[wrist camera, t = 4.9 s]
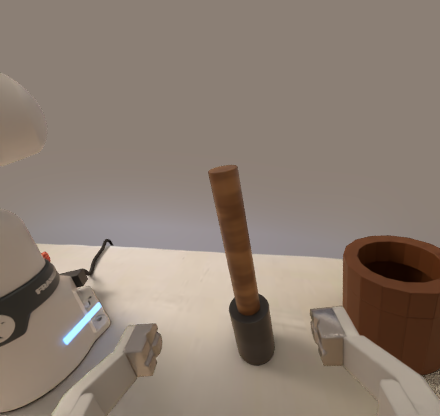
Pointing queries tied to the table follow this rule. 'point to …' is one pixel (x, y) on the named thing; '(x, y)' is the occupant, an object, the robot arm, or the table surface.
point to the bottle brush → (241, 270)
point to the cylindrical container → (395, 297)
